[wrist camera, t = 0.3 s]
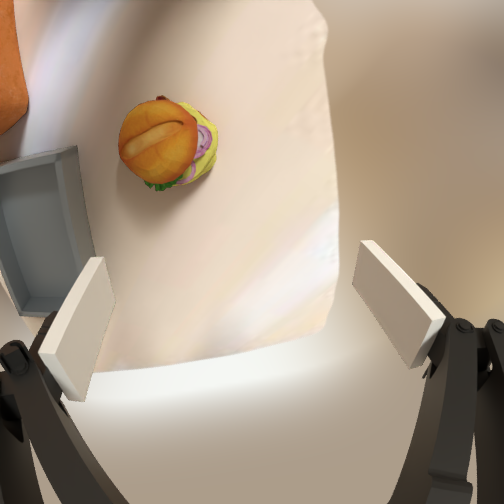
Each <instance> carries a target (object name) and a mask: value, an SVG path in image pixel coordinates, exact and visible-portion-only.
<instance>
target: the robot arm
mask: <svg viewBox="0 0 504 504" xmlns="http://www.w3.org/2000/svg"><path fill="white" fill-rule="evenodd" d="M352 285H353V286H354V287H355V289H356V291H357V292H358V293H359V295H360V296H361V298H362V299H363V301H364V302H365V303H366V305H367V306H368V308H369V309H370V311H371V312H372V314H373V315H374V317H375V318H376V320H377V321H378V323H379V324H380V325H381V327H382V329H383V330H384V332H385V333H386V334H387V336H388V338H389V339H390V341H391V342H392V344H393V345H394V347H395V348H396V350H397V352H398V353H399V355H400V356H401V358H402V359H403V361H404V362H405V364H406V366H407V367H408V369H412V368H416V367H418V366H422V365H423V363H424V361H425V359H426V357H427V355H428V357H429V358H430V360H431V363H430V364H429V366H428V368H427V370H426V371H425V373H424V375H423V377H422V378H425V376H426V375H427V377H426V383H425V388H424V392H423V397H422V402H421V406H420V410H419V415H418V419H417V422H416V426H415V430H414V433H413V437H412V440H411V444H410V447H409V450H408V453H407V457H406V460H405V463H404V465H403V468H402V471H401V474H400V477H399V479H398V482H397V485H396V487H395V490H394V492H393V495H392V497H391V499H390V501H389V502H388V503H387V504H470V501H471V497H472V491H473V486H472V484H471V483H470V482H467V479H466V478H467V472H468V467H469V461H470V455H471V449H472V442H473V434H474V436H475V447H476V459H477V460H476V461H477V504H504V323H503V322H501V321H500V320H497V319H490V320H488V322H487V324H486V326H485V328H475V327H474V326H473V325H472V324H471V323H470V322H469V321H467V320H465V319H462V318H456V319H454V318H453V316H452V315H451V314H450V313H449V312H448V311H447V310H446V309H445V308H444V306H443V305H442V304H441V303H440V302H438V300H437V299H436V298H435V297H434V296H433V294H432V293H431V292H430V291H429V290H428V289H427V288H425V287H424V286H422V285H420V284H419V283H415V282H414V281H413V280H412V279H411V278H410V277H409V276H408V275H407V274H406V273H405V272H404V271H403V270H402V269H401V268H400V267H399V266H398V265H397V264H396V263H395V262H394V261H393V260H392V259H391V258H390V257H389V256H388V255H387V254H386V253H385V252H384V251H383V250H382V249H381V248H380V247H379V246H378V245H377V244H376V243H375V242H374V241H373V240H364V241H360V246H359V252H358V257H357V262H356V267H355V273H354V277H353V282H352ZM115 303H116V299H115V296H114V292H113V289H112V285H111V282H110V278H109V274H108V271H107V267H106V263H105V259H104V256H102V257H91V258H90V259H89V261H88V262H87V264H86V265H85V267H84V269H83V270H82V272H81V274H80V275H79V277H78V278H77V280H76V282H75V283H74V285H73V287H72V289H71V290H70V292H69V294H68V296H67V297H66V299H65V301H64V303H63V304H62V306H61V308H60V310H59V311H53V312H52V313H51V314H50V315H49V316H47V317H46V319H45V320H44V322H43V324H42V326H41V328H40V330H39V332H38V335H36V337H35V339H34V341H33V343H32V345H31V347H30V349H29V351H28V349H27V348H26V346H25V344H24V343H23V342H22V341H20V340H13V341H10V342H8V343H7V344H5V345H4V346H3V347H2V348H1V349H0V363H1V365H2V367H3V368H4V370H5V371H2V372H0V504H44V502H43V499H42V495H41V492H40V488H39V484H38V480H37V476H36V472H35V467H34V463H33V457H32V453H31V447H30V441H31V443H32V446H33V448H34V450H35V453H36V455H37V457H38V459H39V461H40V463H41V465H42V468H43V470H44V472H45V474H46V476H47V478H48V480H49V482H50V483H51V485H52V487H53V489H54V491H55V493H56V494H57V496H58V498H59V500H60V501H61V503H62V504H129V503H128V502H127V500H126V499H125V498H124V497H123V495H122V494H121V493H120V492H119V490H118V489H117V488H116V486H115V485H114V484H113V482H112V481H111V480H110V478H109V477H108V476H107V474H106V473H105V472H104V470H103V469H102V467H101V466H100V464H99V463H98V461H97V460H96V458H95V457H94V455H93V454H92V452H91V451H90V449H89V448H88V446H87V444H86V443H85V441H84V440H83V438H82V436H81V435H80V433H79V431H78V429H77V428H76V426H75V424H74V422H73V421H72V419H71V418H70V415H69V413H68V412H67V410H66V408H65V406H64V404H63V402H62V401H61V400H60V398H61V395H62V392H63V393H64V394H65V396H66V397H67V399H68V400H71V401H79V402H85V398H86V395H87V391H88V387H89V383H90V380H91V376H92V373H93V369H94V366H95V363H96V359H97V356H98V353H99V350H100V346H101V343H102V340H103V337H104V334H105V331H106V328H107V325H108V322H109V320H110V317H111V314H112V311H113V308H114V306H115ZM491 363H492V366H493V367H492V370H490V367H489V366H490V364H491ZM29 439H30V441H29Z"/></svg>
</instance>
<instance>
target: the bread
mask: <svg viewBox="0 0 504 504" xmlns="http://www.w3.org/2000/svg"><path fill="white" fill-rule="evenodd" d="M28 99H29V97H28V92H27V88H26V83H25V79H24V74H23V69H22V64H21V59H20V53H19V47H18V41H17V34H16V27H15V17H14V4H13V0H0V135H2V134H3V133H4V132H6V131H7V130H8V129H10V128H11V127H12V126H13V125H14V124H15V123H16V122H17V121H18V120H19V119H20V118H21V117H22V116H23V115H24V114H25V113H26V111H27V106H28Z"/></svg>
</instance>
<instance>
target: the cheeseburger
mask: <svg viewBox="0 0 504 504" xmlns="http://www.w3.org/2000/svg"><path fill="white" fill-rule="evenodd" d="M217 145H218V131H217V128H216V126H215V125H214V124H212V123H211V122H209V121H208V120H207V119H206V118H205V117H204V116H203V115H202V114H201V113H200V112H199V111H197V110H195V109H193V108H192V107H191V106H190V105H189V104H187V103H184V102H180V103H174V102H172V101H170V100H169V99H168V98H166V97H165V96H163V95H161V96H157V98H156V100H153V101H147V102H145V103H142V104H139V105H138V106H136V107H135V108H134V109H133V110H132V111H130V112H129V114H128V115H127V117H126V119H125V120H124V122H123V124H122V127H121V130H120V134H119V142H118V147H119V155H120V158H121V159H122V161H123V162H124V163H125V164H126V166H127V167H128V168H129V169H130V170H131V171H132V172H133V173H135V174H136V175H137V176H139V177H140V178H142V179H143V180H144V182H145V184H146V185H147V186H149V187H150V188H151V187H152V186H153V185H155V188H156V191H163V190H165V189H166V188H171V187H172V186H177V185H186V184H188V183H191V182H193V181H194V180H196V179H197V178H199V177H200V176H201V175H202V174H204V173H206V172H208V171H209V170H210V169H211V168H212V167H213V165H214V163H215V161H216V150H217Z"/></svg>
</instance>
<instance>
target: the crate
mask: <svg viewBox="0 0 504 504" xmlns="http://www.w3.org/2000/svg"><path fill="white" fill-rule="evenodd" d="M91 257H96V255H95V251H94V246H93V242H92V238H91V233H90V228H89V223H88V218H87V213H86V207H85V202H84V196H83V189H82V183H81V175H80V168H79V160H78V150H77V146H72V147H66V148H61V149H56V150H51V151H47V152H42V153H38V154H33V155H29V156H25V157H21V158H17V159H13V160H10V161H6V162H2V163H0V270H1V273H2V275H3V278H4V281H5V283H6V286H7V288H8V291H9V293H10V295H11V298H12V300H13V302H14V304H15V307H16V309H17V311H18V313H19V315H20V316H29V317H47V316H49V315H50V314H51V313H52V312H53V311H59V310H60V308H61V306H62V304H63V303H64V301H65V299H66V297H67V296H68V294H69V292H70V290H71V289H72V287H73V285H74V283H75V282H76V280H77V278H78V277H79V275H80V274H81V272H82V270H83V269H84V267H85V265H86V264H87V262H88V261H89V259H90V258H91Z"/></svg>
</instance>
